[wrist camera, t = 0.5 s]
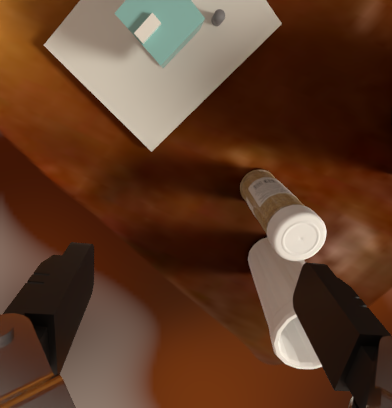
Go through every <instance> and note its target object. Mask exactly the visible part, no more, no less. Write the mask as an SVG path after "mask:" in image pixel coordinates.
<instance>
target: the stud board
mask: <svg viewBox="0 0 392 408" xmlns="http://www.w3.org/2000/svg"><path fill="white" fill-rule="evenodd" d="M124 1H125V0H80V1H79V2H78V4H77V5H76V6H75V7H74V8H73V10H72V11H71V12H70V13H69V15H68V16H67V17H66V18H65V20H64V21H63V22H62V23H61V24H60V26H59V27H58V28H57V29H56V31H55V32H54V33H53V34H52V35H51V37H50V38H49V39H48V40H47V42H46V43H45V44H44V46H45V47H46V48H47V49H48V50H49V51H50V52H51V53H52V54H53V55H54V56H55V57H56V58H57V59H58V60H59V61H60V62H61V63H62V64H63V65H64V66H65V67H66V68H67V69H68V70H69V71H70V72H71V73H72V74H73V75H74V76H75V77H76V78H77V79H78V80H79V81H80V82H81V83H82V84H83V85H84V86H85V87H86V88H87V89H88V90H89V91H90V92H91V93H92V94H93V95H94V96H95V97H96V98H97V99H98V100H100V101H101V102H102V103H103V104H104V105H105V106H106V107H107V108H108V109H109V110H110V111H111V112H112V113H113V114H114V115H115V116H116V117H117V118H118V119H119V120H120V121H121V122H122V123H123V124H124V125H125V126H126V127H127V128H128V129H129V130H130V131H131V132H132V133H133V134H134V135H135V136H136V137H137V138H138V139H139V140H140V141H141V142H142V143H143V144H144V145H145V146H146V147H147V148H148V149H149V150H150V151H151V152H152V151H153V150H154V149H155V148H156V147H157V146H158V145H159V144H160V143H161V142H162V141H163V140H164V139H165V138H166V137H167V136H168V135H169V134H170V133H171V132H172V131H173V130H174V129H175V128H176V127H177V126H178V125H179V124H180V123H181V122H182V121H183V120H184V119H185V118H186V117H188V116H189V115H190V114H191V113H192V112H193V111H194V110H195V109H196V108H197V107H198V106H199V105H200V104H201V103H202V102H203V101H204V100H205V99H206V98H207V97H208V96H209V95H210V94H211V93H212V92H213V91H214V90H215V89H216V88H217V87H218V86H219V85H220V84H221V83H222V82H223V81H224V80H225V79H226V78H227V77H228V76H229V75H230V74H231V73H232V72H233V71H234V70H235V69H236V68H238V67H239V66H240V65H241V64H242V63H243V62H244V61H245V60H246V59H247V58H248V57H249V56H250V55H251V54H252V53H253V52H254V51H255V50H256V49H257V48H258V47H259V46H260V45H261V44H262V43H263V42H264V41H265V40H266V39H267V38H268V37H269V36H270V35H271V34H272V33H273V32H274V31H275V30H276V29H277V28H278V27H279V26H280V25H281V24H282V23H281V22H280V20H279V19H278V17H277V16H276V14H275V13H274V11H273V10H272V8H271V7H270V6H269V4H268V3H267V1H266V0H191V1H192V2H193V3H194V5H195V6H196V7H197V9H198V10H199V11H200V12H201V14H202V15H203V16H204V18H205V20H204V22H203V24H202V26H201V28H200V30H199V31H198V32H197V33H196V34H195V36H194V37H193V38H192V39H191V40H190V41H189V42H188V43H187V44H186V45H185V46H184V47H183V48H182V49H181V50H180V51H179V52H178V53H177V54H176V56H175V57H174V58H173V59H172V60H171V61H170V62H169V63H168V64H167V65H166V66H165V67H164V68H162V67H161V66H160V65H159V64H158V62H157V61H156V60H155V59H154V58H153V57H152V56H151V54H150V53H149V52H148V51H147V50H146V49H145V48H144V47H143V45H142V44H141V43H140V42H139V41H138V40H137V39H136V38H135V36H134V35H133V34H132V33H131V32H130V31H129V30H128V28H127V27H126V26H125V25H124V24H123V23H122V22H121V20H120V19H119V18H118V17H117V16H116V15H115V14H114V13H115V12H116V11H117V10H118V8H119V7H120V6H121V5H122V4H123V3H124Z"/></svg>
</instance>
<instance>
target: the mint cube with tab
mask: <svg viewBox="0 0 392 408" xmlns="http://www.w3.org/2000/svg"><path fill="white" fill-rule="evenodd" d="M114 14H115V15H116V16H117V17H118V18H119V19H120V20H121V22H122V23H123V24H124V25H125V26H126V27H127V28H128V30H129V31H130V32H131V33H132V34H133V35H134V36H135V38H136V39H137V40H138V41H139V42H140V43H141V44H142V45H143V47H144V48H145V49H146V50H147V51H148V52H149V53H150V54H151V56H152V57H153V58H154V59H155V60H156V61H157V62H158V64H159V65H160V66H161V67H162V68H164V67H165V66H166V65H167V64H168V63H169V62H170V61H171V60H172V59H173V58H174V57H175V56H176V54H177V53H178V52H179V51H180V50H181V49H182V48H183V47H184V46H185V45H186V44H187V43H188V42H189V41H190V40H191V39H192V38H193V37H194V36H195V34H196V33H197V32H198V31H199V30H200V28H201V26H202V24H203V22H204V20H205V18H204V16H203V15H202V14H201V12H200V11H199V10H198V9H197V7H196V6H195V5H194V3H193V2H192V1H191V0H125V1H124V3H123V4H122V5H121V6H120V7H119V8H118V10H117V11H116V12H115V13H114Z"/></svg>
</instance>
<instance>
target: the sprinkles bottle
mask: <svg viewBox="0 0 392 408" xmlns="http://www.w3.org/2000/svg"><path fill="white" fill-rule="evenodd" d="M240 192H241V195H242V197H243V199H244V200H245V201H246V202H247V204H248V206H249V208H250V209H251V211H252V212H253V214H254V216H255V217H256V218H257V219H258V221H259V222H260V224H261V226H262V227H263V229H264V230H265V232H266V233H267V238H268V240H269V242H270V244H271V246H272V247H273V249H274V250H275V252H276V253H277V254H278V255H279V256H281V257H282V258H284V259H286V260H290V261H300V260H304V259H307V258H309V257H311V256H313V255H314V254H316V253H317V252H318V251H319V250H320V249H321V247H322V246H323V244H324V242H325V239H326V227H325V224H324V222H323V221H322V219H321V218H320V217H319V216H318V215H317V214H316V213H315V212H314V211H312V210H311V209H310V208H308V207H306V206H304V205H303V204H302V203H301V202H300V201H299V200H298V198H297V197H296V196H295V195H293V194H292V193H291V192H290V191H289V190H288V189H287V188H286V187H285V186H284V185H283V184H282V183H280V182H279V181H278V180H277V179H275V177H274V176H273V175H272V174H271V173H270V172H269V171H266V170H263V169H257V170H253V171H251V172H249V173H247V174H246V175H245V176H244V178H243V179H242V181H241V183H240Z"/></svg>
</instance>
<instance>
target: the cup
mask: <svg viewBox="0 0 392 408" xmlns="http://www.w3.org/2000/svg"><path fill="white" fill-rule="evenodd" d="M248 263H249V267H250V270H251V273H252V276H253V279H254V282H255V286H256V289H257V292H258V295H259V298H260V301H261V304H262V307H263V311H264V314H265V317H266V320H267V323H268V326H269V329H270V337H271V342H272V346H273V350H274V354H275V355H276V356H277V357H278V358H279V359H280V360H281V361H282V362H283V363H285V364H287V365H290V366H292V367H295V368H297V369H315V368H319V367H322V365H321V363H320V361H319V359H318V357H317V355H316V353H315V351H314V349H313V347H312V345H311V343H310V341H309V339H308V337H307V335H306V333H305V331H304V329H303V327H302V325H301V323H300V321H299V319H298V317H297V315H296V313H295V311H294V308H293V294H294V291H295V287H296V284H297V281H298V278H299V275H300V272H301V269H302V266H303V265H304V264H305V263H306V262H305V261H304V260H300V261H290V260H286V259H284V258H282V257H281V256H279V255H278V254H277V253H276V252H275V250H274V249H273V247H272V246H271V244H270V242H269V240H268V238H263V239H261V240H260V241H258V242H257V243H255V244H254V245H253V247H252V248H251V250H250V251H249V255H248Z"/></svg>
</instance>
